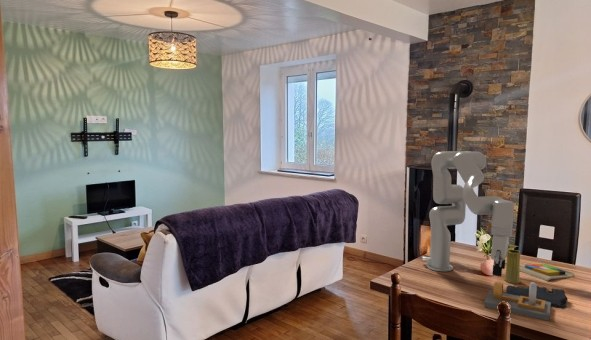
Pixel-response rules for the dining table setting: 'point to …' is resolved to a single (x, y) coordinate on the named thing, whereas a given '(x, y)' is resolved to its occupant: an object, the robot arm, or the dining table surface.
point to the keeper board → (515, 308)
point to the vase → (513, 266)
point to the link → (499, 295)
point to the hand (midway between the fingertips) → (498, 271)
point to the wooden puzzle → (545, 271)
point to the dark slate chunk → (541, 295)
